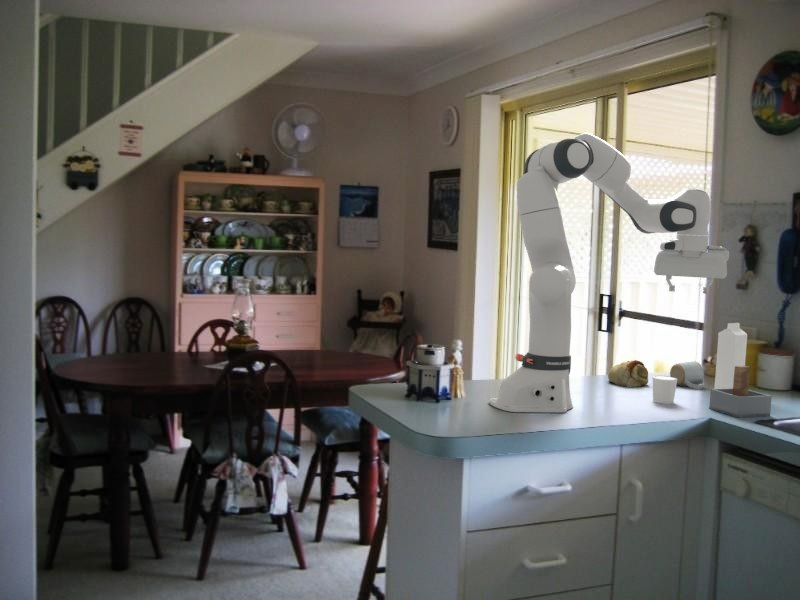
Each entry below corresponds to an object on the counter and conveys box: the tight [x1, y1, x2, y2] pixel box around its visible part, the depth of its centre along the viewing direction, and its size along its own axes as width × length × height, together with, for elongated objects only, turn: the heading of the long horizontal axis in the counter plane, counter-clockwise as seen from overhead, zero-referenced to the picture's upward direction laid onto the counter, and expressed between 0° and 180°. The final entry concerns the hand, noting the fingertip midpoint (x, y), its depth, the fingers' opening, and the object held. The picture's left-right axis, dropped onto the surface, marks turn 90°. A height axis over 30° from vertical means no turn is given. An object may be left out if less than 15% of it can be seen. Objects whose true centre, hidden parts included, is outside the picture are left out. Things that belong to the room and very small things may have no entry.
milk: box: [713, 322, 748, 389], centre depth 258 cm, size 6×6×22 cm
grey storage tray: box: [708, 388, 773, 418], centre depth 233 cm, size 11×11×6 cm
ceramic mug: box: [669, 360, 705, 390], centre depth 271 cm, size 11×8×8 cm
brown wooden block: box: [733, 365, 751, 396], centre depth 233 cm, size 4×2×12 cm, turn 111°
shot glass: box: [651, 375, 677, 405], centre depth 244 cm, size 7×7×7 cm
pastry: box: [607, 359, 649, 388], centre depth 272 cm, size 14×12×8 cm
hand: (688, 292), depth 250 cm, fingers open, 8 cm apart
